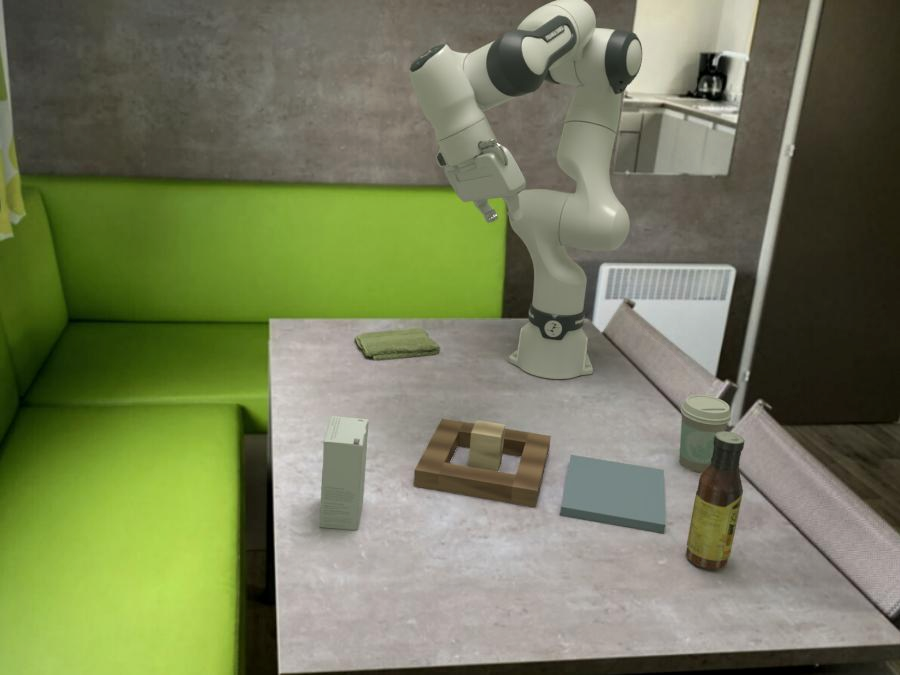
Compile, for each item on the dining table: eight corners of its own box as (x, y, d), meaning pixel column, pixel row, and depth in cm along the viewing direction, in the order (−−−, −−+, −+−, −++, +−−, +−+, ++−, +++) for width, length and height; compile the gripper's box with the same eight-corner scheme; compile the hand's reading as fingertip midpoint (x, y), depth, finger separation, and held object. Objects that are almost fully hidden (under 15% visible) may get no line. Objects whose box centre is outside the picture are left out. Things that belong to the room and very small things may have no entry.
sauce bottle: (729, 575, 124) (757, 452, 118) (685, 567, 125) (709, 445, 119) (725, 550, 131) (751, 431, 124) (683, 543, 132) (706, 424, 125)
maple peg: (473, 458, 152) (476, 420, 149) (501, 463, 151) (505, 424, 148) (467, 472, 147) (471, 432, 144) (496, 477, 146) (500, 437, 144)
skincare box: (326, 499, 136) (329, 413, 130) (365, 502, 136) (369, 416, 131) (318, 529, 128) (320, 439, 123) (359, 532, 128) (363, 442, 123)
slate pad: (569, 462, 153) (570, 454, 152) (662, 477, 150) (663, 469, 150) (560, 514, 136) (561, 506, 136) (663, 533, 134) (665, 524, 133)
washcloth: (351, 342, 201) (351, 329, 200) (423, 337, 207) (424, 324, 206) (366, 363, 190) (367, 350, 188) (442, 358, 196) (443, 344, 195)
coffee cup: (668, 469, 153) (680, 407, 149) (674, 449, 161) (685, 389, 156) (718, 480, 151) (731, 418, 146) (722, 459, 158) (734, 399, 154)
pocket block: (440, 433, 160) (441, 418, 159) (549, 450, 156) (550, 435, 155) (413, 486, 141) (414, 469, 140) (535, 507, 138) (537, 490, 137)
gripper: (512, 128, 134) (549, 208, 138) (461, 143, 153) (494, 213, 157) (479, 146, 133) (517, 227, 136) (431, 159, 151) (466, 230, 155)
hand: (505, 220), depth 147 cm, fingers open, 8 cm apart
